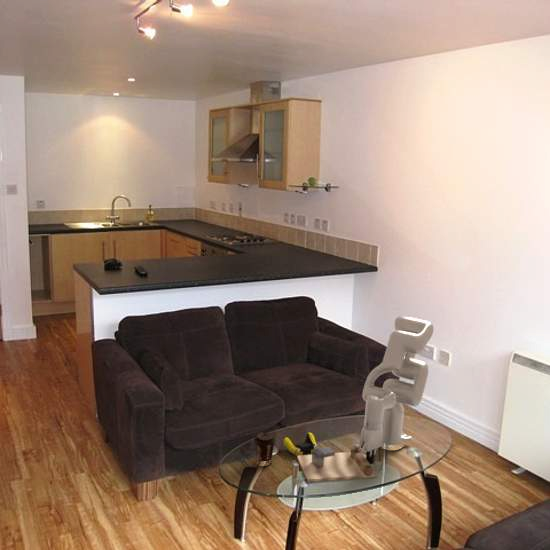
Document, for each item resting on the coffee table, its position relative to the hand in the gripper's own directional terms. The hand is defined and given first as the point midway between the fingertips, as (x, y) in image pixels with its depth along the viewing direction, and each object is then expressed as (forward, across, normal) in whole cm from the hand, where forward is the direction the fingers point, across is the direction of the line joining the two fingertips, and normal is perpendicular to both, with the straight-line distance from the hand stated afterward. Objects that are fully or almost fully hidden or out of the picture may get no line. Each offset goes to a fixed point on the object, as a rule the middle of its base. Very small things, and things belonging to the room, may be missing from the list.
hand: (369, 462), depth 258 cm
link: (+1, +3, -2) cm, 4 cm away
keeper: (+1, +15, -13) cm, 20 cm away
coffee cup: (+3, +34, -29) cm, 45 cm away
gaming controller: (+3, +14, -27) cm, 31 cm away
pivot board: (+2, +11, -8) cm, 14 cm away
